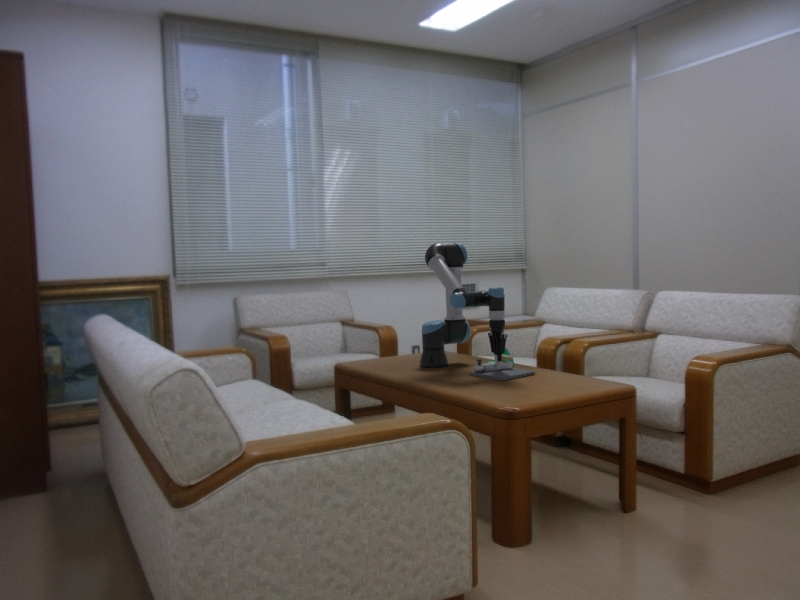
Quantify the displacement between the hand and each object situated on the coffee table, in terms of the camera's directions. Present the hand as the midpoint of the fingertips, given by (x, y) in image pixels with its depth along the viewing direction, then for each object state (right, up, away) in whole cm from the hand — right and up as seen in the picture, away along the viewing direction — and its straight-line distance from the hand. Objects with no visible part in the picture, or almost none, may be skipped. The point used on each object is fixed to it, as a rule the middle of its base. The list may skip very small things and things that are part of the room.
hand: (498, 367), depth 320 cm
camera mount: (+4, -2, +21) cm, 22 cm away
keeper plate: (+1, -3, -3) cm, 4 cm away
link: (-2, -1, +2) cm, 3 cm away
